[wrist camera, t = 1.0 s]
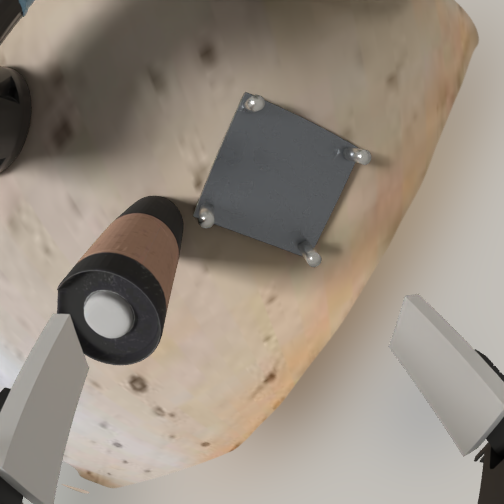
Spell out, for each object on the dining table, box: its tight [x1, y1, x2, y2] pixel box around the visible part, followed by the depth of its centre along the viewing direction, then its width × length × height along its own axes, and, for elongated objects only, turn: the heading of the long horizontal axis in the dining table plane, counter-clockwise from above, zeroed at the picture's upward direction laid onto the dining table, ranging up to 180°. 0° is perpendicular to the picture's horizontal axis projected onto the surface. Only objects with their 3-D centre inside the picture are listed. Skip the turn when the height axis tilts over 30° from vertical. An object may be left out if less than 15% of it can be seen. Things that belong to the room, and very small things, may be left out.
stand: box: [193, 92, 371, 267], centre depth 33 cm, size 15×15×6 cm
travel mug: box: [57, 196, 183, 365], centre depth 26 cm, size 8×8×20 cm
